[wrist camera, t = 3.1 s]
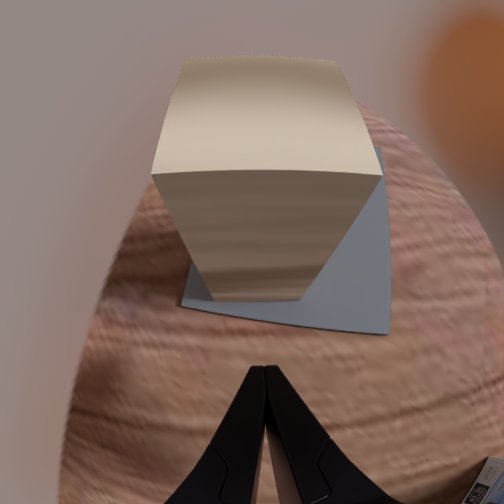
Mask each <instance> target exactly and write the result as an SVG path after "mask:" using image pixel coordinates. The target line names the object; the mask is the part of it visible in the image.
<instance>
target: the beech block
mask: <svg viewBox="0 0 504 504" xmlns="http://www.w3.org/2000/svg"><path fill="white" fill-rule="evenodd" d="M151 175H152V178H153V180H154V182H155V184H156V186H157V189H158V191H159V193H160V195H161V197H162V199H163V201H164V203H165V206H166V208H167V210H168V212H169V214H170V216H171V218H172V220H173V222H174V224H175V226H176V228H177V230H178V232H179V234H180V236H181V238H182V240H183V242H184V244H185V246H186V248H187V250H188V252H189V254H190V256H191V258H192V260H193V262H194V264H195V266H196V268H197V269H198V271H199V273H200V275H201V277H202V279H203V281H204V283H205V285H206V286H207V288H208V290H209V292H210V294H211V296H212V298H213V299H214V301H215V302H268V301H299V300H300V299H301V298H302V296H303V295H304V294H305V292H306V291H307V289H308V288H309V287H310V285H311V284H312V283H313V281H314V280H315V278H316V277H317V276H318V274H319V273H320V271H321V270H322V268H323V267H324V266H325V264H326V263H327V261H328V260H329V258H330V257H331V255H332V254H333V253H334V251H335V250H336V248H337V247H338V245H339V244H340V242H341V241H342V239H343V238H344V236H345V235H346V233H347V232H348V230H349V229H350V227H351V226H352V224H353V223H354V221H355V220H356V218H357V216H358V215H359V213H360V212H361V210H362V209H363V207H364V205H365V204H366V202H367V201H368V199H369V198H370V196H371V194H372V193H373V191H374V189H375V188H376V186H377V185H378V183H379V181H380V180H381V178H382V176H383V173H382V170H381V167H380V164H379V161H378V158H377V155H376V152H375V150H374V147H373V144H372V141H371V139H370V136H369V133H368V131H367V128H366V125H365V123H364V120H363V118H362V115H361V113H360V111H359V108H358V106H357V103H356V101H355V99H354V97H353V94H352V92H351V90H350V88H349V86H348V84H347V81H346V79H345V77H344V75H343V73H342V71H341V69H340V67H339V65H338V63H337V62H336V61H329V60H320V59H310V58H299V57H282V56H222V57H207V58H195V59H185V60H184V63H183V66H182V68H181V71H180V74H179V77H178V80H177V83H176V86H175V89H174V92H173V95H172V98H171V101H170V104H169V108H168V111H167V115H166V118H165V121H164V125H163V128H162V132H161V136H160V140H159V143H158V147H157V151H156V155H155V159H154V163H153V168H152V172H151Z"/></svg>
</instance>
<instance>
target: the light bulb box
mask: <svg viewBox="0 0 504 504" xmlns="http://www.w3.org/2000/svg"><path fill="white" fill-rule="evenodd" d="M489 501H492V502H495V503H498V504H504V458H499V457H493V456H489V458H488V459H487V461H486V463H485V465H484V467H483V469H482V471H481V472H480V474H479V476H478V477H477V479H476V481H475V483H474V484H473V486H472V487H471V489H470V491H469V492H468V494H467V495H466V497H465V498H464V500H463V501H462V503H461V504H486V503H487V502H489Z"/></svg>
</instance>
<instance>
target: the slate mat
mask: <svg viewBox="0 0 504 504" xmlns="http://www.w3.org/2000/svg"><path fill="white" fill-rule="evenodd" d="M373 147H374V150H375V152H376V155H377V158H378V161H379V164H380V167H381V170H382V173H383V176H382V178H381V180H380V181H379V183H378V185H377V186H376V188H375V189H374V191H373V193H372V194H371V196H370V198H369V199H368V201H367V202H366V204H365V205H364V207H363V209H362V210H361V212H360V213H359V215H358V216H357V218H356V220H355V221H354V223H353V224H352V226H351V227H350V229H349V230H348V232H347V233H346V235H345V236H344V238H343V239H342V241H341V242H340V244H339V245H338V247H337V248H336V250H335V251H334V253H333V254H332V255H331V257H330V258H329V260H328V261H327V263H326V264H325V266H324V267H323V268H322V270H321V271H320V273H319V274H318V276H317V277H316V278H315V280H314V281H313V283H312V284H311V285H310V287H309V288H308V289H307V291H306V292H305V294H304V295H303V296H302V298H301V299H300V300H299V301H268V302H215V301H214V299H213V298H212V296H211V294H210V292H209V290H208V288H207V286H206V285H205V283H204V281H203V279H202V277H201V275H200V273H199V271H198V269H197V268H196V266H195V264H194V262H193V260H192V261H191V265H190V269H189V274H188V278H187V282H186V286H185V290H184V295H183V299H182V304H181V306H182V307H186V308H191V309H196V310H201V311H206V312H212V313H217V314H223V315H228V316H234V317H240V318H246V319H252V320H259V321H265V322H272V323H279V324H286V325H293V326H301V327H309V328H317V329H326V330H335V331H345V332H355V333H366V334H378V335H389V334H390V315H391V248H390V229H389V215H388V204H387V194H386V185H385V177H384V169H383V162H382V156H381V149H380V148H379V147H375V146H373Z"/></svg>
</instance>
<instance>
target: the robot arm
mask: <svg viewBox="0 0 504 504" xmlns="http://www.w3.org/2000/svg"><path fill="white" fill-rule="evenodd" d="M265 427H266V434H267V439H268V445H269V450H270V455H271V461H272V466H273V471H274V476H275V482H276V487H277V492H278V497H279V502H280V504H405V503H402V502H400V501H397V500H396V499H394V498H392V497H391V496H389V495H388V494H386V493H385V492H384V491H383V490H382V489H380V488H379V487H378V486H377V485H376V484H375V483H374V482H373V481H371V480H370V479H369V478H368V477H367V476H366V475H365V474H364V473H363V472H361V471H360V470H359V469H358V468H357V467H356V466H355V465H354V464H353V463H352V462H351V461H350V460H349V459H348V458H347V457H346V455H345V454H344V453H343V452H342V451H341V450H340V448H339V447H338V446H337V445H336V443H335V442H334V441H333V439H330V436H329V434H328V433H327V432H326V431H325V429H324V428H323V427H322V425H321V424H320V423H319V421H318V420H317V419H316V417H315V416H314V415H313V413H312V412H311V411H310V409H309V408H308V407H307V405H306V404H305V403H304V401H303V400H302V399H301V397H300V396H299V394H298V393H297V392H296V390H295V389H294V388H293V386H292V385H291V383H290V382H289V381H288V379H287V378H286V376H285V375H284V374H283V372H282V371H281V369H280V368H279V367H278V366H277V365H266V366H265V367H264V366H251V367H250V369H249V371H248V373H247V375H246V377H245V378H244V380H243V382H242V384H241V386H240V388H239V390H238V392H237V394H236V396H235V398H234V399H233V401H232V403H231V405H230V407H229V409H228V411H227V412H226V414H225V416H224V418H223V420H222V422H221V423H220V425H219V427H218V429H217V431H216V432H215V434H214V436H213V438H212V440H211V441H210V444H209V445H208V446H207V448H206V450H205V452H204V453H203V455H202V456H201V458H200V460H199V461H198V463H197V464H196V466H195V467H194V468H193V470H192V471H191V472H190V474H189V475H188V476H187V478H186V479H185V480H184V481H183V482H182V484H181V485H180V486H179V487H178V488H177V489H176V491H175V492H174V493H173V494H172V495H171V496H170V497H169V498H168V500H167V501H166V502H165V503H164V504H256V499H257V491H258V484H259V476H260V468H261V459H262V451H263V442H264V433H265ZM486 504H498V503H495V502H492V501H489V502H487V503H486Z"/></svg>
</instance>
